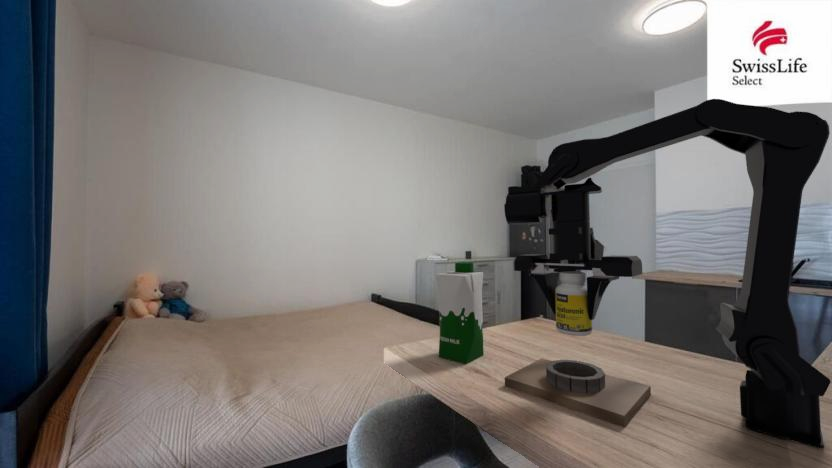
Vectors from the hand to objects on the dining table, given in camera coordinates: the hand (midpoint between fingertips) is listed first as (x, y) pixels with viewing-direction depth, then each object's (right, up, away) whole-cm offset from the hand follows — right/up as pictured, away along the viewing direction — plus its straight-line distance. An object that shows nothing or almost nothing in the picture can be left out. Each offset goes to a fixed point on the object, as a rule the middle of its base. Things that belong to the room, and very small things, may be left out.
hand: (573, 316), depth 56 cm
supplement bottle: (0, -3, 0) cm, 3 cm away
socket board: (0, -12, 0) cm, 12 cm away
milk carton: (-16, -13, +17) cm, 27 cm away
